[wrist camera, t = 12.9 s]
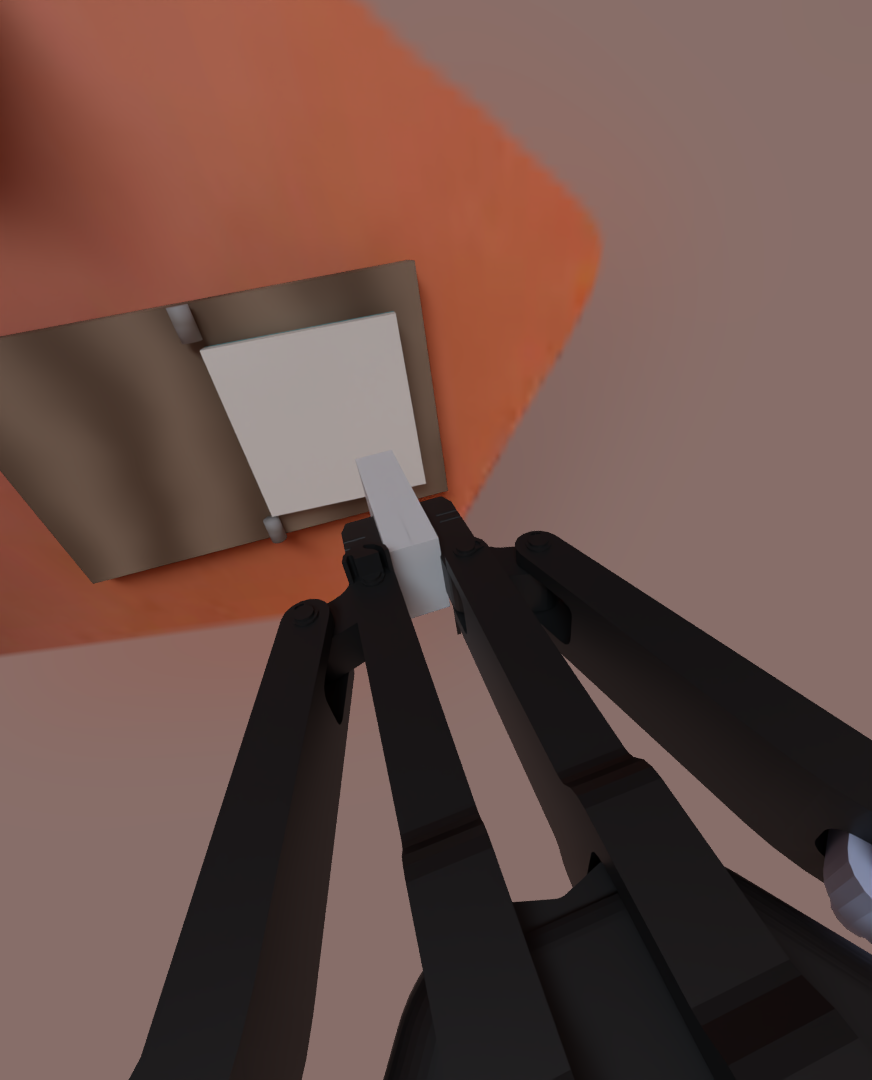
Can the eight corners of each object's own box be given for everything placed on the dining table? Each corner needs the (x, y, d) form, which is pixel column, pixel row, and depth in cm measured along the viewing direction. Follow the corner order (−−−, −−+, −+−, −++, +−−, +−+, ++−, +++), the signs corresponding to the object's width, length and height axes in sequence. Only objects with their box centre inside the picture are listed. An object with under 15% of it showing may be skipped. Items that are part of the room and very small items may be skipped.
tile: (425, 483, 28) (423, 476, 29) (395, 313, 22) (393, 310, 23) (272, 516, 27) (274, 508, 28) (199, 350, 22) (204, 346, 22)
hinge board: (101, 569, 29) (87, 593, 27) (-72, 349, 21) (-111, 361, 19) (442, 481, 32) (451, 497, 30) (408, 259, 24) (418, 261, 22)
